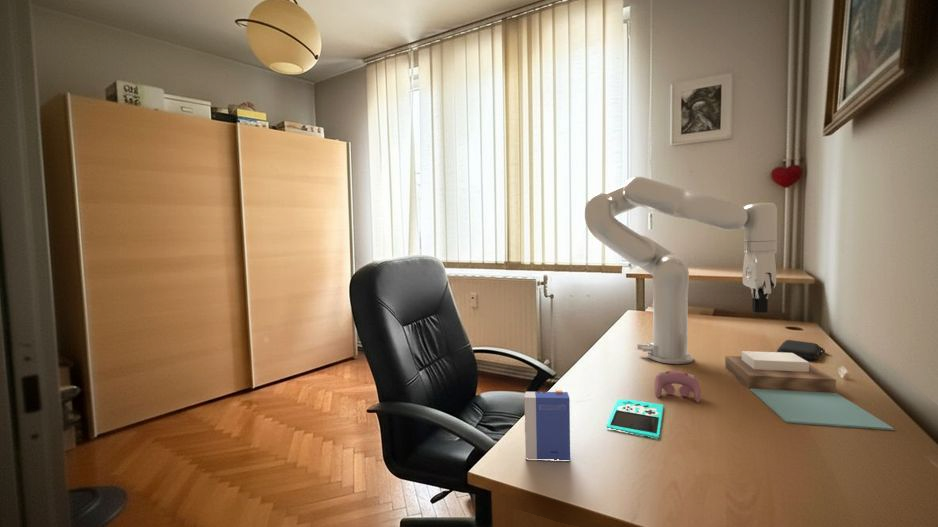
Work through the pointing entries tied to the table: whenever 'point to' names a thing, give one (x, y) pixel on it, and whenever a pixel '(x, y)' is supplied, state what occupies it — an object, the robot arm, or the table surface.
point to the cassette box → (775, 361)
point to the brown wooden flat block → (780, 377)
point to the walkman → (547, 425)
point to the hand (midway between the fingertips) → (759, 311)
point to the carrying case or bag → (801, 349)
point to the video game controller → (677, 377)
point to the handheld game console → (636, 417)
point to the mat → (818, 409)
